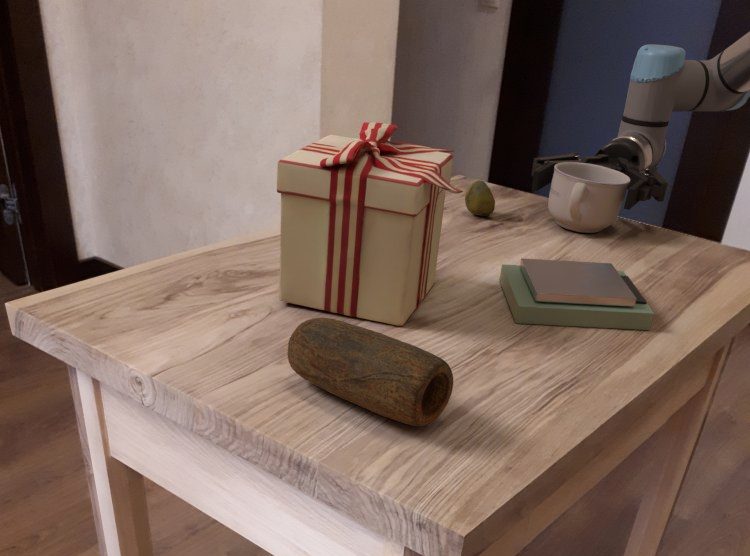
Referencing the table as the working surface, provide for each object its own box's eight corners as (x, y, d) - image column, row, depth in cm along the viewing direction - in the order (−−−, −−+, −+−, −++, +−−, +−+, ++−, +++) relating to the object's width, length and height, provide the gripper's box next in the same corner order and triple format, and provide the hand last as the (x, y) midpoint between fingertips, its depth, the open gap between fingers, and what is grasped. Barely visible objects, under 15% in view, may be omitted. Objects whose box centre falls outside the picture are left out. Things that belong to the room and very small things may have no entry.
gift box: (441, 334, 83) (461, 161, 73) (273, 309, 86) (271, 139, 76) (462, 279, 97) (482, 126, 87) (317, 258, 100) (320, 108, 90)
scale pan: (609, 271, 96) (611, 263, 95) (634, 307, 87) (637, 298, 86) (519, 266, 95) (521, 258, 95) (535, 301, 87) (537, 292, 86)
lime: (467, 209, 121) (471, 174, 118) (498, 214, 120) (503, 180, 117) (458, 216, 118) (462, 181, 115) (489, 222, 117) (494, 186, 114)
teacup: (562, 211, 123) (573, 156, 119) (629, 227, 119) (642, 171, 114) (521, 231, 114) (531, 172, 109) (591, 249, 109) (605, 189, 104)
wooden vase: (458, 414, 70) (468, 344, 66) (415, 446, 65) (423, 373, 61) (324, 362, 77) (326, 296, 73) (276, 388, 72) (275, 318, 68)
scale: (619, 286, 98) (624, 268, 97) (650, 330, 88) (655, 310, 86) (499, 280, 98) (502, 261, 96) (515, 323, 87) (519, 303, 86)
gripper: (694, 201, 125) (662, 235, 109) (543, 173, 134) (495, 200, 119) (708, 150, 120) (678, 178, 105) (552, 124, 129) (503, 146, 114)
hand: (581, 190), depth 112 cm, fingers open, 13 cm apart
